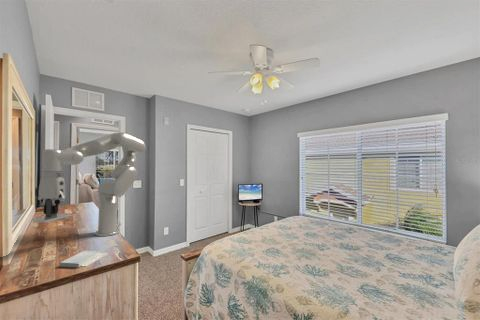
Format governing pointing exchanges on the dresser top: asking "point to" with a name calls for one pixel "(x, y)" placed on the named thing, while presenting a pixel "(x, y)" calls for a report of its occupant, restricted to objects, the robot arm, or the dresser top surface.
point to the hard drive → (79, 259)
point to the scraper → (50, 216)
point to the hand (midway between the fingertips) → (50, 213)
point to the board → (94, 259)
